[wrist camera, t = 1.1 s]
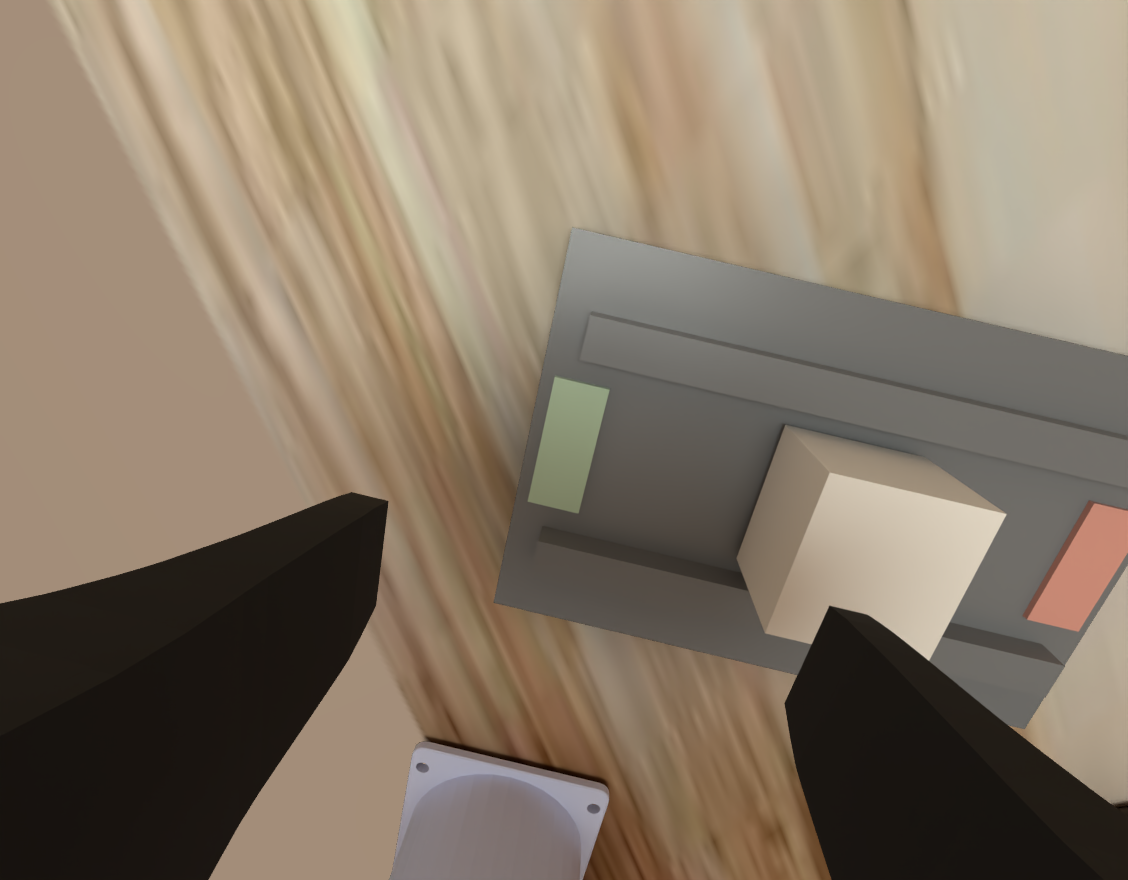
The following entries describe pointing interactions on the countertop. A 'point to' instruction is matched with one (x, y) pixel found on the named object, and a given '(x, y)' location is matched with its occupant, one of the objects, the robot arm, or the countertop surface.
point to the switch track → (817, 403)
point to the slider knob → (862, 539)
